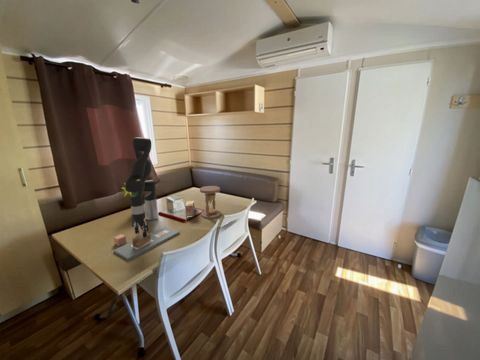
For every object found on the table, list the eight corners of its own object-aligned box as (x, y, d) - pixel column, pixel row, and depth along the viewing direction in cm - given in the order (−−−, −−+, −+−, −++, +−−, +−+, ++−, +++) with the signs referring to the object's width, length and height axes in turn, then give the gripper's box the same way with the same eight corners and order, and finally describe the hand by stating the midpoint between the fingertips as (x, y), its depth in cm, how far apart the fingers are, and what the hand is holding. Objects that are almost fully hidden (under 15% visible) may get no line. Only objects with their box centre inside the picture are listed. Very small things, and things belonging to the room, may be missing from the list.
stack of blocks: (188, 210, 193) (187, 197, 190) (194, 209, 194) (194, 197, 191) (185, 219, 172) (185, 205, 169) (193, 218, 173) (192, 205, 170)
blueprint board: (113, 252, 124) (113, 249, 124) (165, 228, 156) (164, 226, 155) (128, 260, 116) (128, 257, 116) (179, 233, 147) (179, 231, 147)
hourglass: (213, 221, 168) (212, 192, 163) (196, 216, 177) (195, 189, 171) (224, 213, 183) (224, 187, 178) (209, 210, 192) (208, 184, 186)
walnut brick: (133, 246, 127) (132, 239, 126) (144, 238, 137) (144, 232, 136) (139, 247, 126) (138, 240, 125) (150, 240, 135) (150, 233, 134)
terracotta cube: (114, 244, 134) (113, 237, 133) (122, 240, 138) (121, 234, 137) (118, 246, 131) (117, 239, 130) (126, 242, 135) (125, 236, 134)
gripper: (125, 211, 127) (129, 234, 131) (139, 216, 120) (142, 240, 123) (137, 207, 133) (140, 229, 137) (150, 212, 126) (153, 235, 130)
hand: (141, 235), depth 130 cm, fingers open, 8 cm apart
